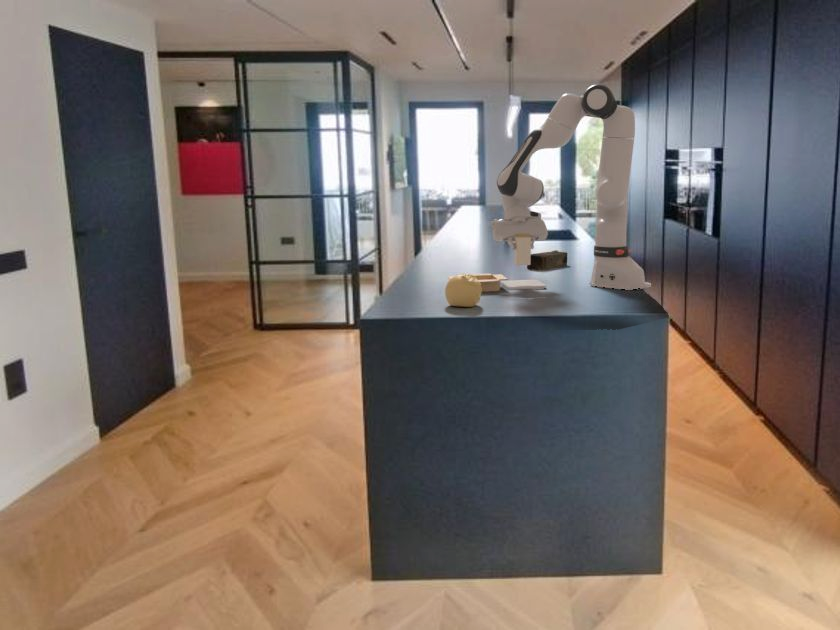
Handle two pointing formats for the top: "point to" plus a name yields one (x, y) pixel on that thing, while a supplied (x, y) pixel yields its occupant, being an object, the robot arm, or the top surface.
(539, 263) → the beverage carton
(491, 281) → the carton
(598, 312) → the top surface
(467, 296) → the sculpture
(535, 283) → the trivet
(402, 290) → the top surface
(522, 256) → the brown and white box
